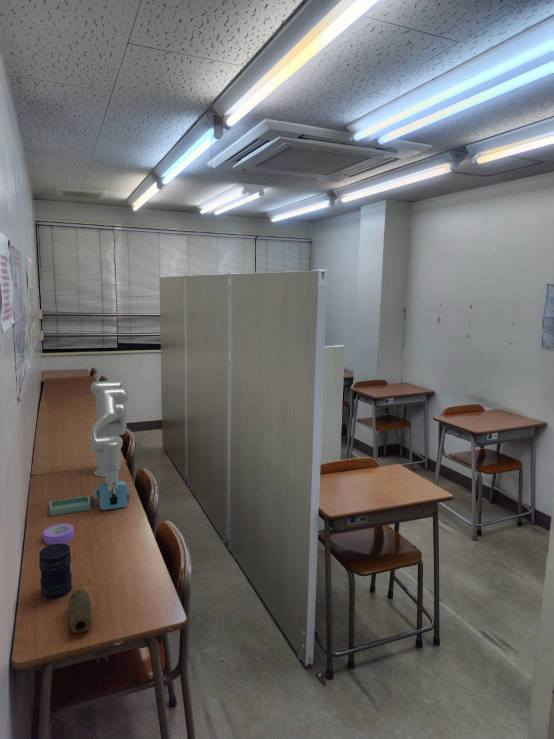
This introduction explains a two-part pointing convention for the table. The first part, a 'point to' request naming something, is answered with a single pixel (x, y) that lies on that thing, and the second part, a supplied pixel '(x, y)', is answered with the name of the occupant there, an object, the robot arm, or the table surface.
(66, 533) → the masking tape
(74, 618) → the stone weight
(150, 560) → the table surface
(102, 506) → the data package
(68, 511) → the tray
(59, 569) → the storage jar
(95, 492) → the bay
